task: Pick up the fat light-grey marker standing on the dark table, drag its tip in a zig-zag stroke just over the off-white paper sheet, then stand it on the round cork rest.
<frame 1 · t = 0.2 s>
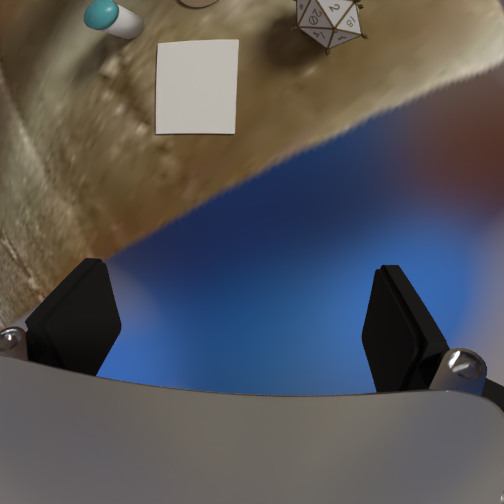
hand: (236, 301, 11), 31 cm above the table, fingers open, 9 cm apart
marker: (131, 27, 31), on the table
game die: (323, 24, 31), on the table
paper: (195, 86, 35), on the table
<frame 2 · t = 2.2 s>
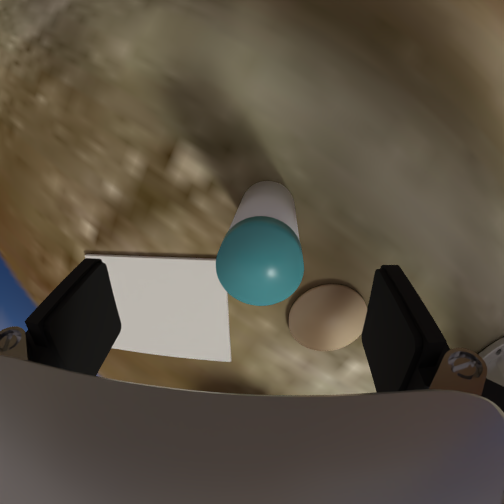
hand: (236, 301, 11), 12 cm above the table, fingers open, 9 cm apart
marker: (267, 206, 22), on the table
rest: (328, 318, 25), on the table
paper: (158, 310, 26), on the table
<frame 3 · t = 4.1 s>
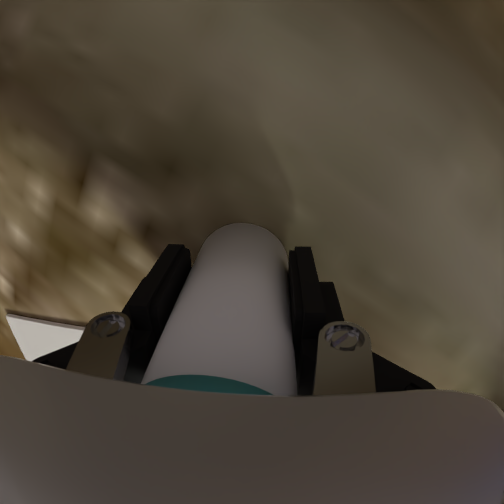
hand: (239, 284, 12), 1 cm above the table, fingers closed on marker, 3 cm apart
marker: (242, 265, 13), on the table, touching gripper
paper: (103, 387, 17), on the table
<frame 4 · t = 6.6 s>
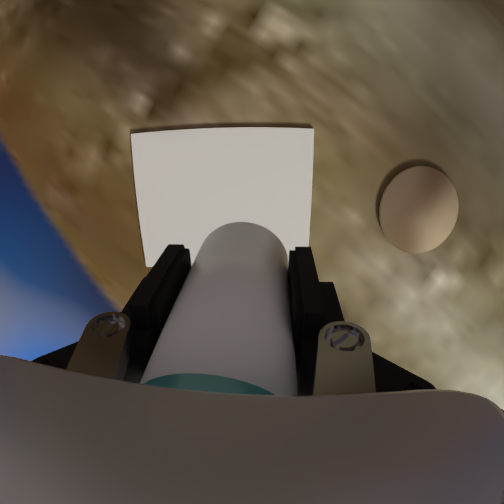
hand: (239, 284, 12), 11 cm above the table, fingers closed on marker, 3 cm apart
marker: (242, 264, 13), point 9 cm above the table, touching gripper
rest: (419, 210, 20), on the table
paper: (220, 201, 22), on the table
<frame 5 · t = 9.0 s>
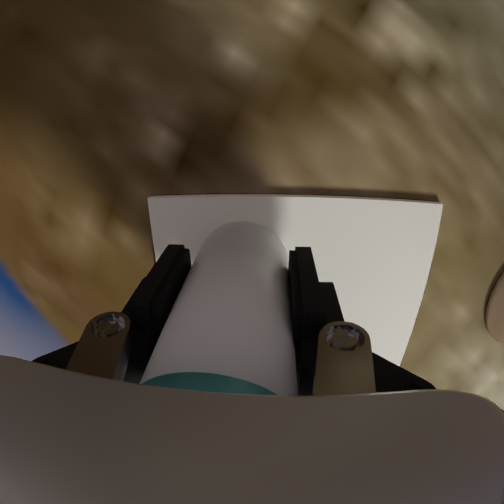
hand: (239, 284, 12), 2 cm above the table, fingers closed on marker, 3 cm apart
marker: (243, 263, 13), point 1 cm above the table, touching gripper
paper: (295, 304, 14), on the table
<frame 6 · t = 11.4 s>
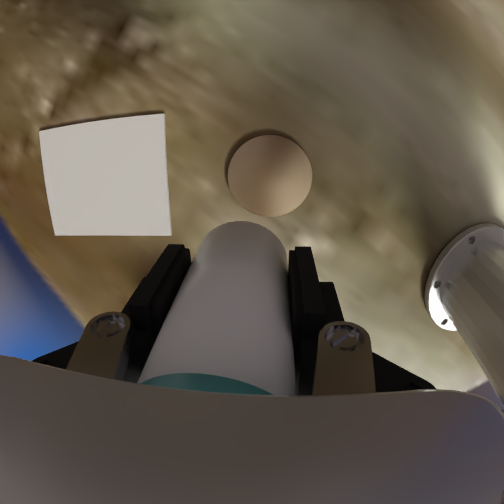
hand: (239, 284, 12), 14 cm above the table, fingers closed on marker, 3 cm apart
marker: (241, 263, 13), point 13 cm above the table, touching gripper
rest: (270, 175, 24), on the table
paper: (100, 179, 24), on the table
when the fingers open (3 cm above the table, at t = 13.8 s): marker stays where it is, resting on rest.
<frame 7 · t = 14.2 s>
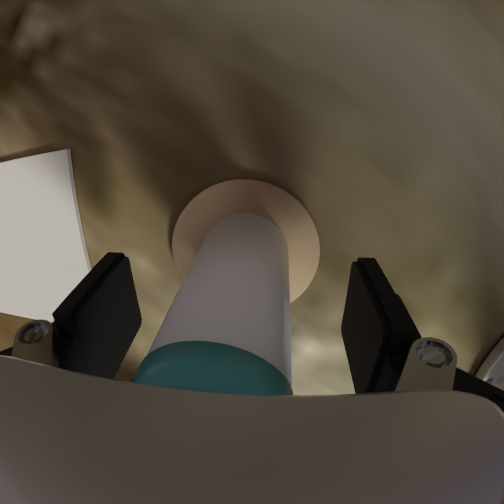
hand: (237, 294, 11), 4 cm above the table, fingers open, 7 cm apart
marker: (245, 253, 14), resting on rest
rest: (245, 250, 14), on the table
paper: (10, 246, 15), on the table
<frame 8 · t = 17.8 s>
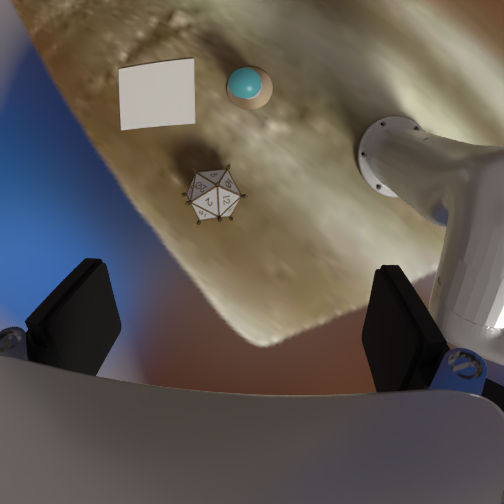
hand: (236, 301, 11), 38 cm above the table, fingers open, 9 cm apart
marker: (250, 87, 41), resting on rest
rest: (250, 88, 41), on the table
game die: (218, 187, 48), on the table
paper: (155, 94, 42), on the table
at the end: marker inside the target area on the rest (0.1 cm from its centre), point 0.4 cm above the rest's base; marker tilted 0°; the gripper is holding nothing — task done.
